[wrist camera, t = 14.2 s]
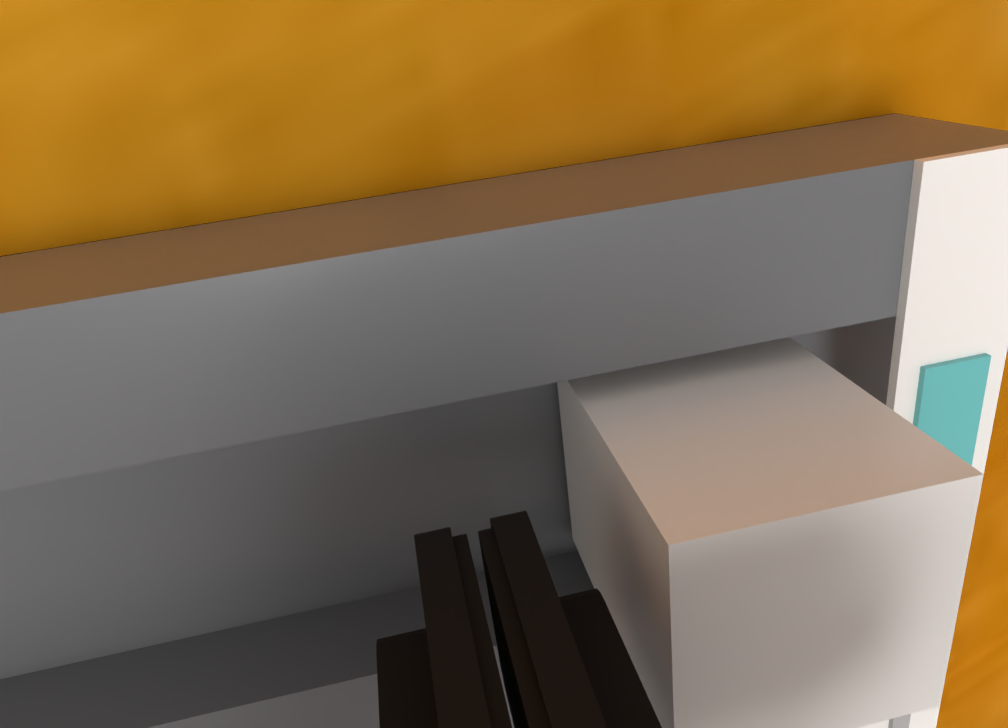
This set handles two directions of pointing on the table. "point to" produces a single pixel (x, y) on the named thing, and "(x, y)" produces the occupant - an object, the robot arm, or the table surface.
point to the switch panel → (428, 395)
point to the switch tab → (768, 538)
